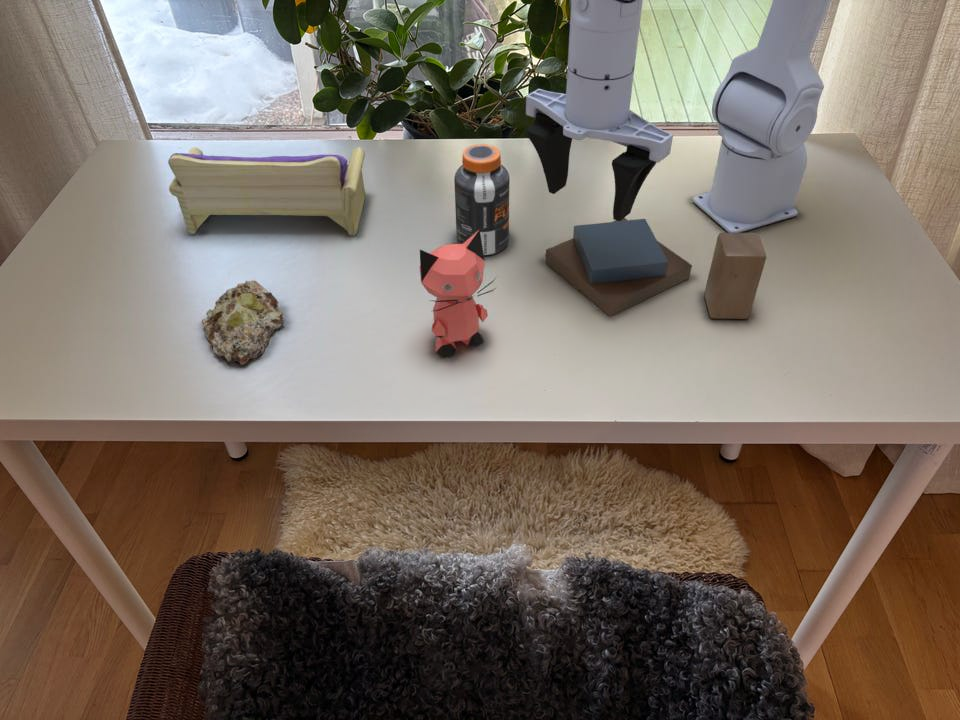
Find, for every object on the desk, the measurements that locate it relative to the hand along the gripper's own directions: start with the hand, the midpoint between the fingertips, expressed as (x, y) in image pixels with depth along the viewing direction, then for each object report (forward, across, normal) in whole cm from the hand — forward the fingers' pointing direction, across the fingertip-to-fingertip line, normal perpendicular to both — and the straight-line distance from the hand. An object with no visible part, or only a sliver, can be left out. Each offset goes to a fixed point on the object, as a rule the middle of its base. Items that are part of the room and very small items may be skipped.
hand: (588, 202), depth 76 cm
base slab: (+10, +2, +4) cm, 11 cm away
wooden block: (+10, +14, +6) cm, 18 cm away
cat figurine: (+10, -4, -15) cm, 19 cm away
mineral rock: (+10, -22, -28) cm, 37 cm away
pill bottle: (+10, -13, -1) cm, 16 cm away
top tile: (+8, +2, +4) cm, 9 cm away
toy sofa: (+10, -35, -12) cm, 39 cm away
